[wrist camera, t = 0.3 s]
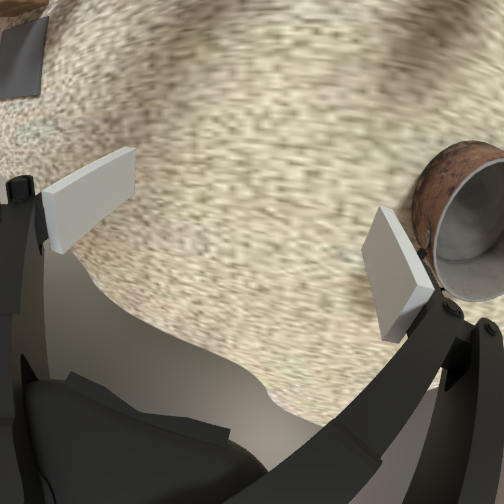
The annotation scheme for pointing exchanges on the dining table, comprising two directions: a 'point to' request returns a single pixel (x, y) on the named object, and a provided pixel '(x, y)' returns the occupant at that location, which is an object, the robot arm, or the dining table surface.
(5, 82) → the mat
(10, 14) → the crate
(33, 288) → the robot arm
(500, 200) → the cooking pot
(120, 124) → the dining table surface
